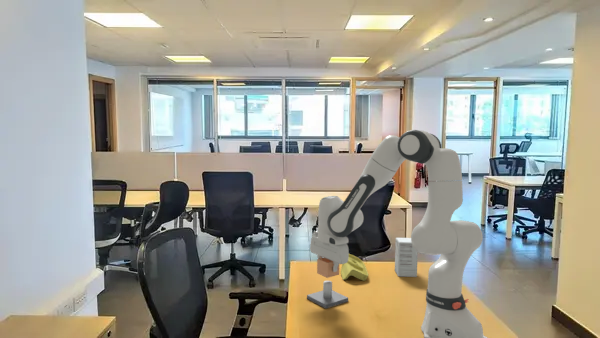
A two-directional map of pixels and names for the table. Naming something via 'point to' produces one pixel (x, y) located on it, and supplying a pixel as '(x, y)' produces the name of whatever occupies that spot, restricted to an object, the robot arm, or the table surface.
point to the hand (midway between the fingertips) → (328, 268)
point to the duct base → (328, 300)
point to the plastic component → (354, 268)
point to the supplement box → (405, 258)
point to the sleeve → (326, 268)
